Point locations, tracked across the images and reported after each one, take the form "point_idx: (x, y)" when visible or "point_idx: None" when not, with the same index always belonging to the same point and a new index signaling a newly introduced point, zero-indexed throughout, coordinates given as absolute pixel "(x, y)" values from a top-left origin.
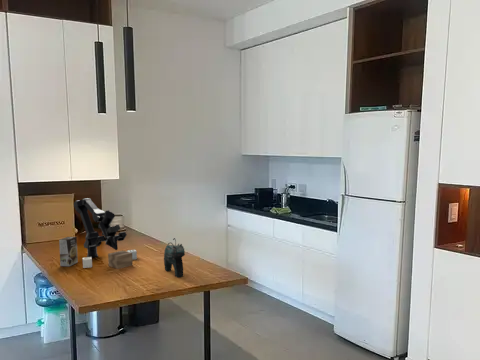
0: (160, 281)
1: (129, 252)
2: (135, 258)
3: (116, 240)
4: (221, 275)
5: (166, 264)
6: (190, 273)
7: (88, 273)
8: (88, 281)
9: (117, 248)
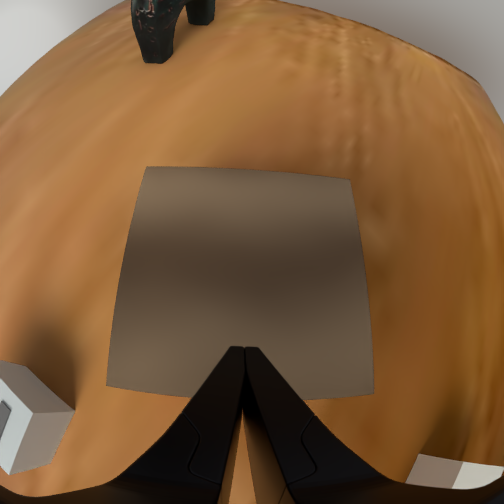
0: (273, 26)
1: (140, 207)
2: (29, 373)
3: (145, 486)
4: None
5: (174, 27)
6: None
7: (481, 304)
8: (486, 186)
9: (232, 347)
